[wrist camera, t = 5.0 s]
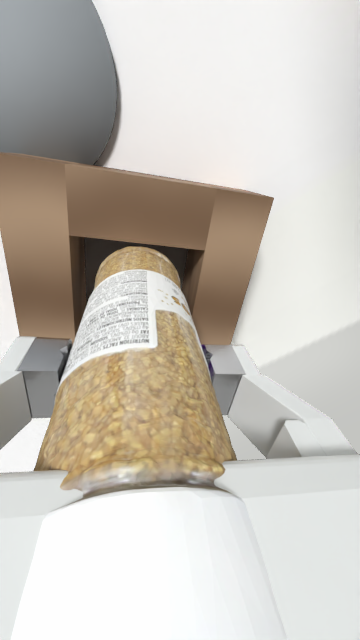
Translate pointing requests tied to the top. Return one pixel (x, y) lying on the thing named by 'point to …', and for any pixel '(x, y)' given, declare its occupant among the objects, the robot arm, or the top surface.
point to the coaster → (55, 80)
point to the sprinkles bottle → (143, 481)
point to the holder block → (122, 238)
